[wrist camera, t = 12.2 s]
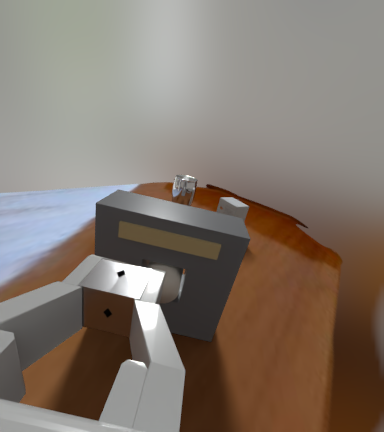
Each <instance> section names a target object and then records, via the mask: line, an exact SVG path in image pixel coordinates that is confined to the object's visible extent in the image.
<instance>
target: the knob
mask: <svg viewBox="0 0 384 432" xmlns="http://www.w3.org/2000/svg"><path fill="white" fill-rule="evenodd" d="M147 268H150V269H156V270H161V271H165V272H166V275H165V280H164V285H163V290H162V295H161V299H160V303H169V302H171V301H173V300H174V299H175V298H176V297H177V295H178V293H179V288H180V283H181V278H182V273H183V268H179V267H175V266H170V265H166V264H162V263H157V262H153V261H150V262H149V264H148V267H147Z"/></svg>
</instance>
